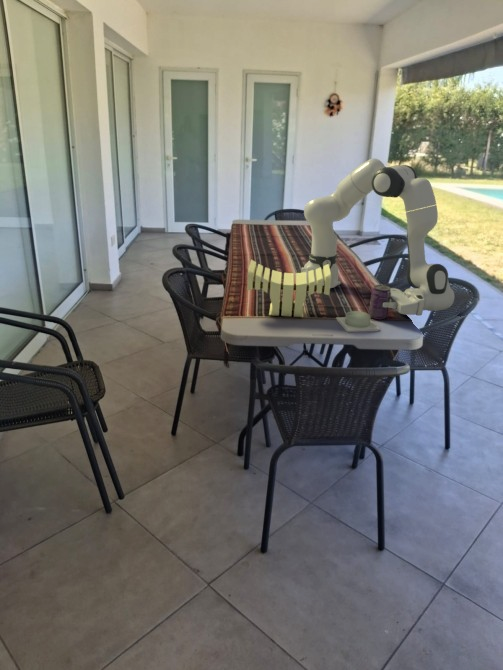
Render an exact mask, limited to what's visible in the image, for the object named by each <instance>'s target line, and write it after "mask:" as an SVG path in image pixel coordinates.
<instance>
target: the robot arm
mask: <svg viewBox="0 0 503 670" xmlns="http://www.w3.org/2000/svg"><path fill="white" fill-rule="evenodd" d="M372 191H373V192H374V193H375V194H376V195H378V196H380V197H385V198H394V199H395V198H398V197H399V198H401V199H402V201H403V205H404V211H405V216H406V224H407V230H406V244H407V254H408V256H407V257H408V269H407V274H406V279H407V282H408V284H409V286H410V287H411V288H406V289H405V290H404V291H402V290H401V289H399V288H394V287H390V288H391V289H390V291H391V297H390V302H382V306H383V307H388V308H389V309H392V310H393V309H394V310H395V311H397V312H398V313H399V314H401V315H407V316H414V315H416V316H422V315H423V311H429V312H434V311H435V312H436V311H443V310H447V309H449V308H450V307H451V306H452V305H453V304H454V302H455V291H454V290H453V289H452V287H451V286H450V283H449V272H448V269H447V268H446V267H445V266H444V265H443V264H441V263H440V264H439V263H429V264H428V262H427V261H426V253H425V252H426V250H425V240H426V237H427V235H428V234H429V233H430V232H431V231H433V229H434V228H435V226H436V225H437V224H438V218H439V214H438V207H437V201H436V196H435V193H434V189H433V187H432V184H431V182H430V181H429V179H427V178H424V177H418V174H417V171H416V169H414V167H412V166H410V165H406V164H395V165H391V166H386V165H385V164H384V163H383V161H381V160H380V159H378V158H370V159H368V160H366V161H365V162H364V161H363V162H362V163H361V164H360V165H358V166H357V167H356V168H354V169H353V170H352V171H351V172H350V173H349V174H348V175H346V176H345V177H344V178H343V179H341V180H340V182H338V183H337V187H336V189H335V190H334V192H333V193H331V194H329V195H328V196H327V195H326V196H322V197H321V196H320V197H316V198H314V199H312V200H310V201H308V202H306V204H305V206H304V208H303V209H304V210H303V214H304V215H303V216H304V218H305V220H306V221H307V223H308V224H309V226H310V229H311V249H310V250H311V251H310V254H309V255H308V261H307V262H306V263H305V264H304V267H302V266H301V268H300V269H301V270H300V273H302V272H306V280H307V285H308V271H311V270H313V271H314V279H315V285H316V269H317V268H320V267H321V271H322V276H323V284H322V286H324V274H323V266H325V265H327V264H329V268H330V272H331V283H330V289H332V288H336V287H337V286H339V285H341V281H340V280H339V266H338V265H337V260H338V256H337V255H338V254H337V247H338V239H339V238H338V236H337V234H336V233H335V231H334V224H333V223H334V222H339V221H341V220H343V219H345V218H346V217H348V216H349V214H350V212H351V210H352V209H353V208H354V206H355V205H356V204H358V203H359V202H360V201H361V200H362V199H364V198H365V197H366V196H368V195H369V194H370V193H372Z"/></svg>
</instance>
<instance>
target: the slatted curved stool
mask: <svg viewBox="0 0 503 670" xmlns="http://www.w3.org/2000/svg"><path fill="white" fill-rule="evenodd" d="M263 271H264V272H263ZM270 274H271V278H270ZM323 274H324V286H322V284H323V276H322V271H321V267H320V268H317V269H316V285H315V279H314V271H313V270H311V271H308V285H307V280H306V272H296V273H294V272H293V273H292V272H291V273H289V272H284V273H282V271H278V270H274V269H272V271H271V269H270V268H269V267H265V268H264V265H262V264H260V263H258V264H257V262H256V261H255V260H253V259H250V262H249V266H248V271H247V281H246V282H247V286H246V287H247V288H246V291H253V289H254V290H256V291H257V290H258V291H260V290H262V291H263V292H264V293H266V294H268V292H269V299H270V301H271V303H270V304H269V305H270V306H269V313H268V316H280V315H281V316H282V317H292V315H293V318H295V317H296V318H304V303H305V301H306V299H307V298H306V297H307V296H311V295H314V294H315V293H316V294H322V293H323V294H324V295H327V296H330V294H331V293H330V292H331V288H330V283H331V272H330V268H329V264H327V265H325V266H323ZM282 275H283V277H282ZM294 275H295V277H294ZM254 278H255V279H254ZM282 278H283V282H282ZM294 278H295V279H294ZM294 280H295V282H294ZM269 281H270V282H269ZM269 290H270V291H269ZM281 291H282V297H281ZM294 291H295V294H294ZM307 294H308V295H307ZM294 295H295V296H294ZM281 298H282V299H281ZM293 299H294V300H293ZM280 310H281V314H280ZM292 311H293V312H292Z"/></svg>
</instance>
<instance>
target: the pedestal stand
mask: <svg viewBox="0 0 503 670" xmlns="http://www.w3.org/2000/svg"><path fill="white" fill-rule="evenodd" d="M368 313H369V312H368ZM368 313H367V312H365V311H360V310H352V311H351V310H350V311H347V312H346V313H345V316H342V317H341V316H340V317H337V316H336V319H335V320H336V321H337V323H339V324H340V326H342V328H343V329H344V330H345V331H346V332H347V333H354V332H355V333H356V332H357V333H359V332H379V331H380V328H379V327H378V326H377V325H376V324H375V323H374V322H373V321H372V320H371V318H372V317H371V316H370V315H369V314H368Z"/></svg>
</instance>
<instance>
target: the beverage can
mask: <svg viewBox="0 0 503 670" xmlns="http://www.w3.org/2000/svg"><path fill="white" fill-rule="evenodd" d="M391 288H392V287H390V286H388V285H384V284H375V285H374V286H373V289H372V290H371V294H370V300H369V301H370V303H369V307H368V314H369V315H370V316H371V318H372V319H374V320H383V319H387V318H388V314H389V309H390V308H388V307H383V306H382V302H390V297H391V291H390V289H391Z"/></svg>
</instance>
